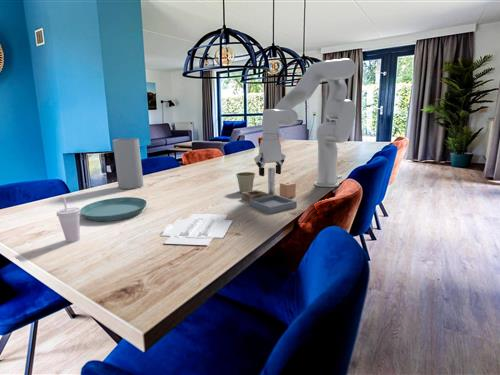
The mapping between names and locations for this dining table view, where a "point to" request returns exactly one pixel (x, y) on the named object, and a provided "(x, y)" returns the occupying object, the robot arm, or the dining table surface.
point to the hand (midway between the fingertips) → (270, 174)
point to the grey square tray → (273, 203)
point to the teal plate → (113, 209)
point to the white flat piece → (197, 229)
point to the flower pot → (245, 181)
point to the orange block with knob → (288, 189)
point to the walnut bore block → (253, 195)
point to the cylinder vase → (128, 163)
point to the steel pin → (271, 180)
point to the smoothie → (70, 222)
